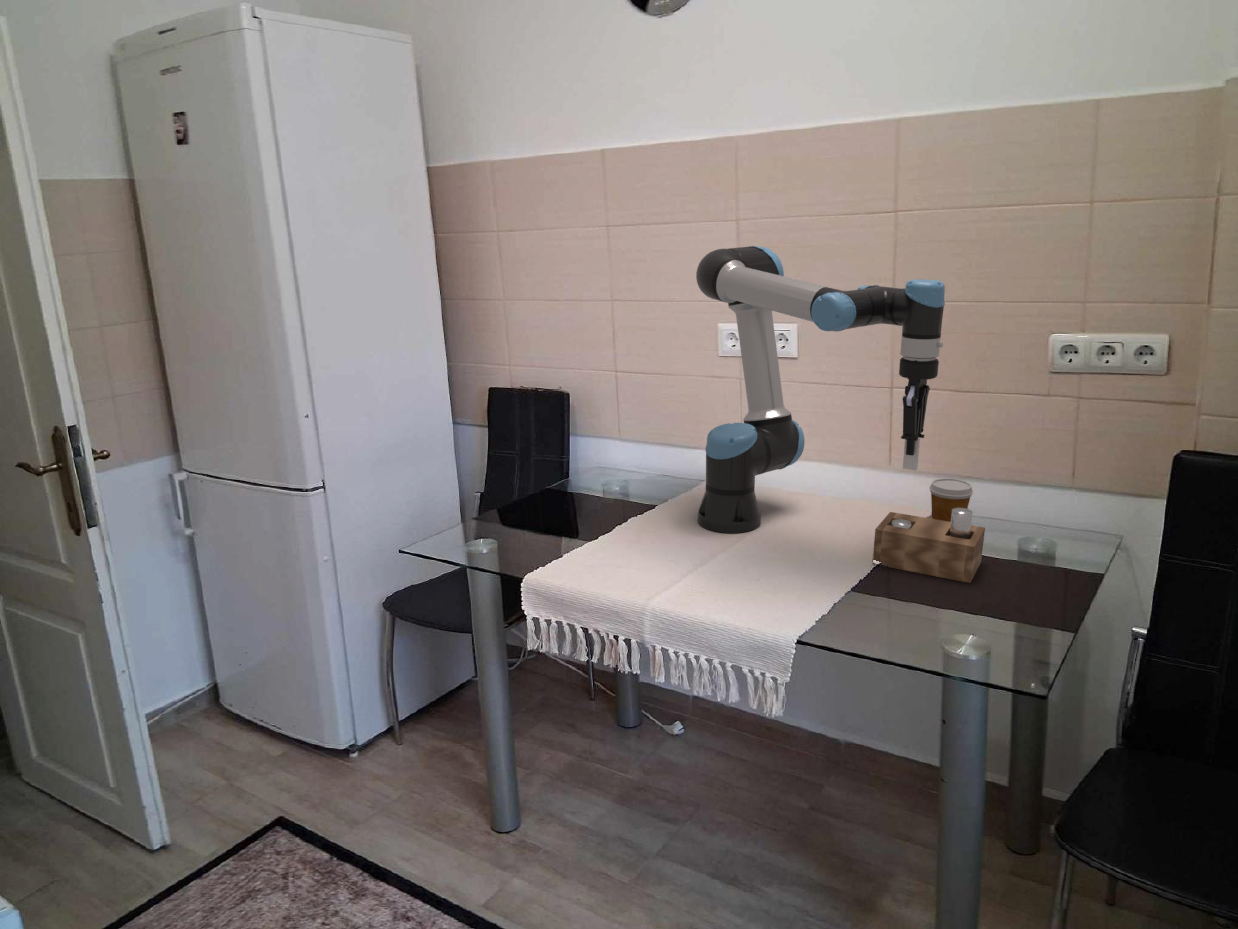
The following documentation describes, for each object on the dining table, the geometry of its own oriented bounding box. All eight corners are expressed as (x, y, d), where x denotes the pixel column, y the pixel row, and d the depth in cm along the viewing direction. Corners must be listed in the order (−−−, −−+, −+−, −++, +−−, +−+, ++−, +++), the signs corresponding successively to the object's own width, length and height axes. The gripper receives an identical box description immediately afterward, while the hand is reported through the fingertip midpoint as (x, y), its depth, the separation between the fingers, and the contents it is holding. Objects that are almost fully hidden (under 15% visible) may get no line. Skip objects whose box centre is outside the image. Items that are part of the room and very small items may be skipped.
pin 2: (946, 545, 190) (950, 512, 188) (950, 539, 193) (954, 506, 191) (966, 549, 188) (970, 515, 186) (970, 542, 191) (974, 509, 189)
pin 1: (887, 555, 197) (889, 523, 195) (891, 549, 200) (894, 518, 198) (905, 559, 195) (908, 527, 193) (910, 553, 198) (913, 521, 196)
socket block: (872, 563, 195) (875, 529, 193) (887, 545, 205) (890, 511, 203) (970, 583, 185) (974, 546, 183) (980, 562, 195) (985, 527, 193)
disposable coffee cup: (966, 527, 215) (971, 479, 211) (970, 542, 206) (975, 492, 202) (924, 524, 217) (928, 476, 214) (925, 538, 208) (930, 489, 205)
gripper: (931, 364, 177) (920, 479, 184) (945, 353, 188) (935, 462, 195) (892, 361, 181) (883, 474, 188) (908, 351, 192) (900, 458, 199)
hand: (910, 468), depth 191 cm, fingers closed
